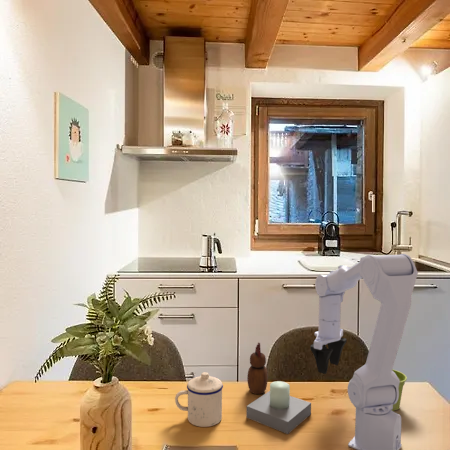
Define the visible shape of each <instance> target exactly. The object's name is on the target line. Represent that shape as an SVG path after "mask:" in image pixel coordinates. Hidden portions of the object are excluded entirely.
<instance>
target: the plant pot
mask: <svg viewBox="0 0 450 450" xmlns="http://www.w3.org/2000/svg"><path fill="white" fill-rule="evenodd" d="M392 371H393V372H394V373H395V374H396V375H397V377H398V379H399V380H400V383H399V398H398V401H397V403H395V404H393V409H392V411H393V412H395V411H396V410H400V406H401V400H402V396H403V395H402V394H403V388H404V386H405V383H406V381H407V379H408V377H407V375H406V374H404V373H403V372H401V371H400V370H396V369H394V368H393V369H392Z"/></svg>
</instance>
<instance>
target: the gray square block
mask: <svg viewBox="0 0 450 450" xmlns="http://www.w3.org/2000/svg"><path fill="white" fill-rule="evenodd" d="M245 410H246V411H245V412H246V415H245V417H246V418H247V419H249V420H252V421H254V422H257V423H259V424H261V425H263V426H265V427H266V426H267V427H269V428H272V429H275V430H277V431H279V432H281V433H284V434H286V435H289V434H290V433H291V432H292V431H293V430H294V429H296V428H297V427H298V426H299V425H300V424H302V423H303V422H304V421H305V420H306V419H308V417H309V416H311V415H312V402H311V401H306V400H303V399H301V398H298V397H296V396H295V397H294V396H291V395H290V400H289V407H288V408H286V409H275V408H273V407H271V406H270V390H269V391H267V392H266V393H263V395H261V396H260V397H258V398H256V399H255V400H254V401H252V402H251V403H249V404H248V405H247V404H246V409H245Z"/></svg>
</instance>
